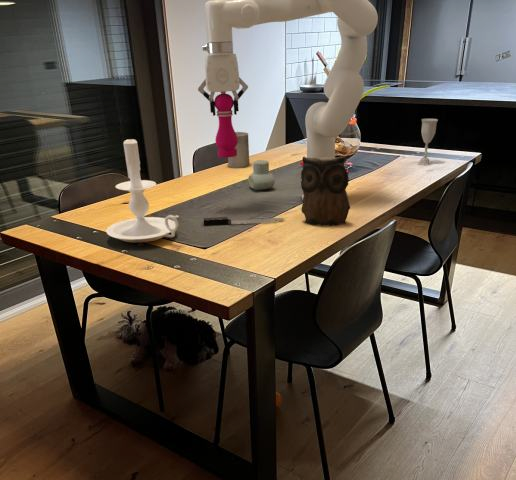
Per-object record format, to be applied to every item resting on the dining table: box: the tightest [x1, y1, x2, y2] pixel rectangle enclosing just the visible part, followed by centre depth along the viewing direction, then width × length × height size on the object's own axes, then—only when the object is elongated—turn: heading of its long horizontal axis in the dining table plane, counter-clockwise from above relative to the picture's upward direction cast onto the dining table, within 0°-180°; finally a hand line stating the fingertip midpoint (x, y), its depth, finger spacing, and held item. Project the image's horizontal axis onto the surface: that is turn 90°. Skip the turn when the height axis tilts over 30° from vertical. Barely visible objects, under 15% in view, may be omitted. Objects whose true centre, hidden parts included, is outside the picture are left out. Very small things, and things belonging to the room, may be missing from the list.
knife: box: [203, 216, 284, 227], centre depth 170 cm, size 25×4×2 cm, turn 95°
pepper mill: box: [214, 91, 238, 159], centre depth 169 cm, size 7×7×20 cm
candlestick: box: [106, 138, 180, 244], centre depth 152 cm, size 21×25×28 cm
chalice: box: [418, 118, 439, 166], centre depth 231 cm, size 7×7×18 cm
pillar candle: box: [227, 130, 250, 169], centre depth 239 cm, size 10×10×15 cm
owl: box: [300, 156, 351, 227], centre depth 163 cm, size 13×13×20 cm
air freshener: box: [247, 159, 276, 191], centre depth 204 cm, size 11×8×10 cm
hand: (224, 114), depth 168 cm, fingers closed on pepper mill, 6 cm apart
